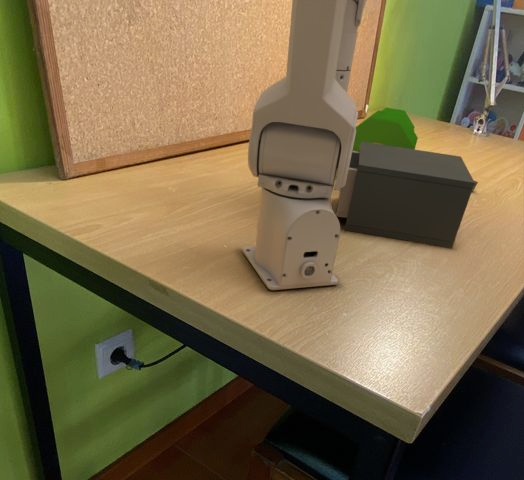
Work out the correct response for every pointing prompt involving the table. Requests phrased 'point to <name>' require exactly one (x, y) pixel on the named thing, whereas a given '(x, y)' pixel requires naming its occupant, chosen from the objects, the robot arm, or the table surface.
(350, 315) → the table surface
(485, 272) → the table surface
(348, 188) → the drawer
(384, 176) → the cabinet
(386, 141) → the decorative tree
